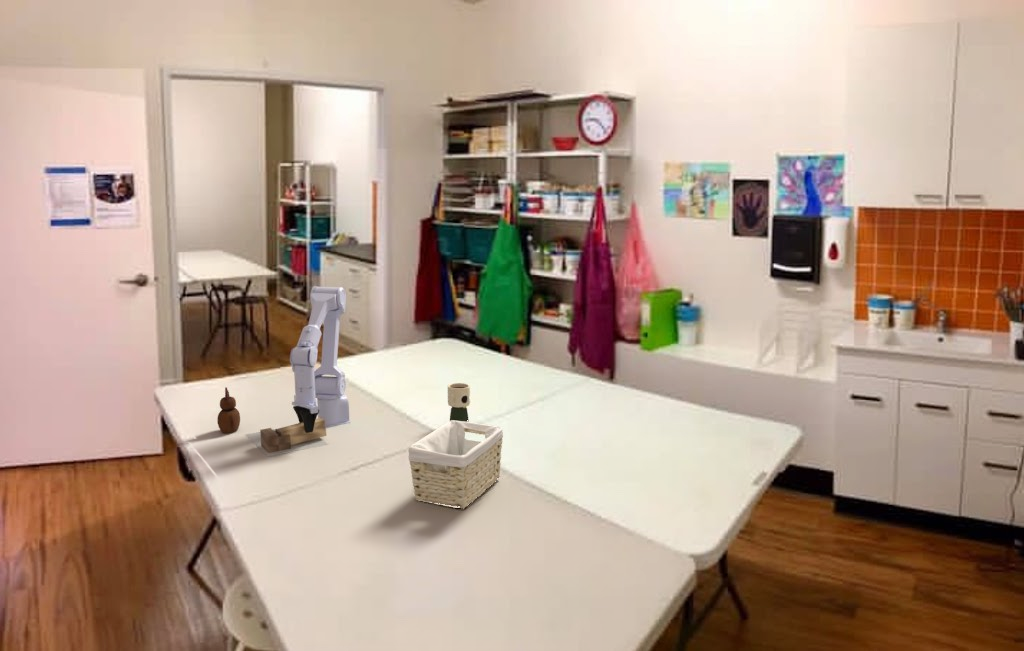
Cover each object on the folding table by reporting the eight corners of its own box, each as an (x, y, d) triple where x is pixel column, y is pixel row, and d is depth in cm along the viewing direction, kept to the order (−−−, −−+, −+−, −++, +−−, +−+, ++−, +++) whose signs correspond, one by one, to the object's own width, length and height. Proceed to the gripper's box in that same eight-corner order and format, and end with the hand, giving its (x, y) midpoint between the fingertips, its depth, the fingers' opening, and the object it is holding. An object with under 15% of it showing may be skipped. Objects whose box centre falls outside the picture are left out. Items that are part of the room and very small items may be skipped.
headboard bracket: (283, 441, 236) (282, 425, 235) (291, 448, 231) (290, 432, 230) (261, 445, 233) (260, 429, 232) (268, 453, 227) (267, 436, 226)
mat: (302, 425, 252) (302, 424, 252) (328, 445, 235) (328, 444, 235) (245, 435, 242) (245, 434, 242) (268, 457, 225) (268, 456, 225)
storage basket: (464, 514, 190) (463, 456, 187) (405, 502, 196) (404, 446, 193) (505, 479, 211) (505, 426, 208) (451, 469, 217) (451, 418, 214)
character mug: (461, 431, 248) (461, 391, 245) (441, 428, 250) (440, 388, 248) (476, 421, 258) (476, 382, 255) (456, 418, 260) (456, 380, 258)
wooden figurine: (232, 436, 242) (229, 389, 239) (215, 435, 243) (211, 388, 240) (244, 429, 248) (241, 383, 245) (227, 428, 249) (224, 382, 246)
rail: (322, 432, 241) (320, 417, 240) (326, 435, 239) (324, 420, 237) (277, 445, 234) (275, 429, 232) (281, 448, 231) (278, 432, 230)
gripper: (283, 382, 237) (285, 426, 240) (300, 394, 226) (302, 439, 228) (306, 379, 241) (308, 422, 244) (324, 390, 230) (325, 435, 232)
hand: (307, 430), depth 236 cm, fingers closed on rail, 3 cm apart
